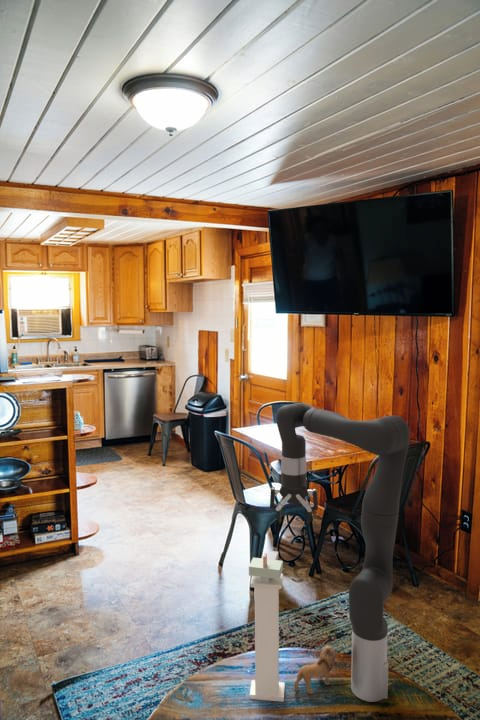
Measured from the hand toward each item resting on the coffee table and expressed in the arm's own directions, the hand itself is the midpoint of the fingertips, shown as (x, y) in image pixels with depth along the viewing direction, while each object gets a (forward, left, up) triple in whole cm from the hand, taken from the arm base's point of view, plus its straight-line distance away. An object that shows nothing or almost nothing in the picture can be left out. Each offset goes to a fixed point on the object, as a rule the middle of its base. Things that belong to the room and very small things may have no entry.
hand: (293, 522), depth 164 cm
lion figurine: (-6, +19, -38) cm, 43 cm away
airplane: (+6, +19, -5) cm, 21 cm away
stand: (+6, +24, -38) cm, 45 cm away
